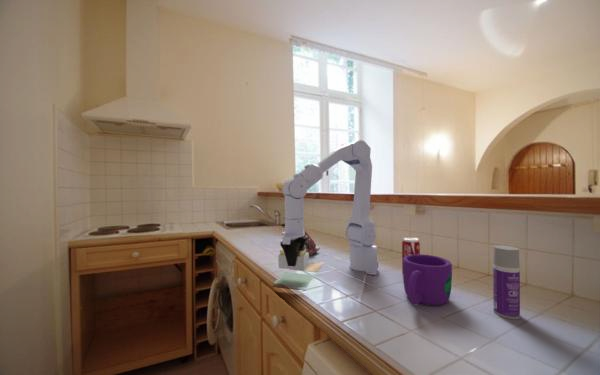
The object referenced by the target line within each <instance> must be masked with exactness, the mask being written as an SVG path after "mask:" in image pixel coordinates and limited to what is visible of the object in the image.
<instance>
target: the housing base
mask: <svg viewBox="0 0 600 375" xmlns="http://www.w3.org/2000/svg"><path fill="white" fill-rule="evenodd" d="M277 258H278V269H283V270H284V269H285V270H290V269H292V271H300V270H302V271H303V272H305V271H304V270H305V269H306V268H307V267H308V266H309V262H310V255H309V253H307V252H306V253H305V254H304V255H303V256H297V257H296V264H295V266H288V264H287V260H286V256H285V255H284V254H280V253H279V254H278V257H277Z"/></svg>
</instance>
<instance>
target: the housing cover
mask: <svg viewBox="0 0 600 375" xmlns="http://www.w3.org/2000/svg"><path fill="white" fill-rule="evenodd" d="M305 253H306V249H301V248H298V251H297V256H303V255H304V254H305ZM279 254H284V255H285V253H284V251H283V249H282V248H281V249H279Z"/></svg>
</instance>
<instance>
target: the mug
mask: <svg viewBox="0 0 600 375" xmlns="http://www.w3.org/2000/svg"><path fill="white" fill-rule="evenodd" d="M452 265H453V264H452V262H451V261H450V260H448V259H447V258H443V257H440V256H436V255H430V254H422V253H420V254H414V255H407V256H405V257H404V258H403V274H402V280H403V288H404V293H405V295H406V296H407V297H408V298H409V301H410V303H411V304H413V305H418V304H422V305H426V306H443V305H445V304H446V303H448V302H449V301H450V297H451V294H452V292H451V291H452V280H453V278H452V277H453V273H452V272H453V266H452Z"/></svg>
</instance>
